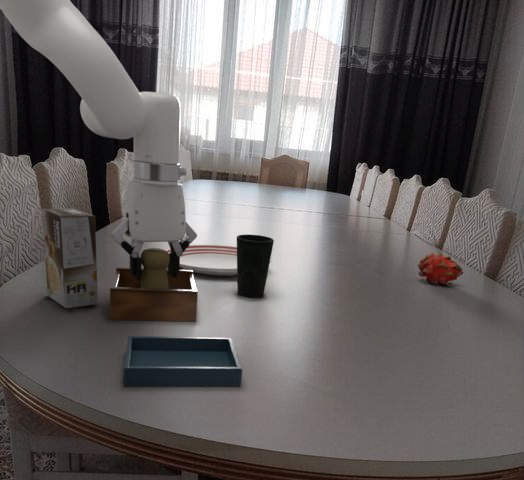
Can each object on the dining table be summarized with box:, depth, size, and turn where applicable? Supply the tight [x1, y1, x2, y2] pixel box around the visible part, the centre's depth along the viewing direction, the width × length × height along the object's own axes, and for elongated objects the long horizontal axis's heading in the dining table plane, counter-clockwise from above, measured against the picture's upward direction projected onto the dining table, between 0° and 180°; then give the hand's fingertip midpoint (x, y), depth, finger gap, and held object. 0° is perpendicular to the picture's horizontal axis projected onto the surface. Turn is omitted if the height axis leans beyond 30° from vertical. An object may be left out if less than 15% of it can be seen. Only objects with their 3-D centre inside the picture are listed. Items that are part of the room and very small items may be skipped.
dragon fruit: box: [417, 252, 464, 286], centre depth 135 cm, size 8×8×12 cm
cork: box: [139, 247, 170, 289], centre depth 95 cm, size 6×6×11 cm
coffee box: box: [41, 207, 99, 309], centre depth 93 cm, size 9×6×16 cm
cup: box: [236, 234, 275, 299], centre depth 108 cm, size 8×8×12 cm
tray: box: [123, 335, 243, 387], centre depth 73 cm, size 15×11×3 cm
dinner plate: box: [165, 244, 272, 277], centre depth 130 cm, size 28×27×3 cm
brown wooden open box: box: [109, 266, 199, 323], centre depth 96 cm, size 15×15×6 cm
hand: (154, 276), depth 94 cm, fingers open, 6 cm apart
